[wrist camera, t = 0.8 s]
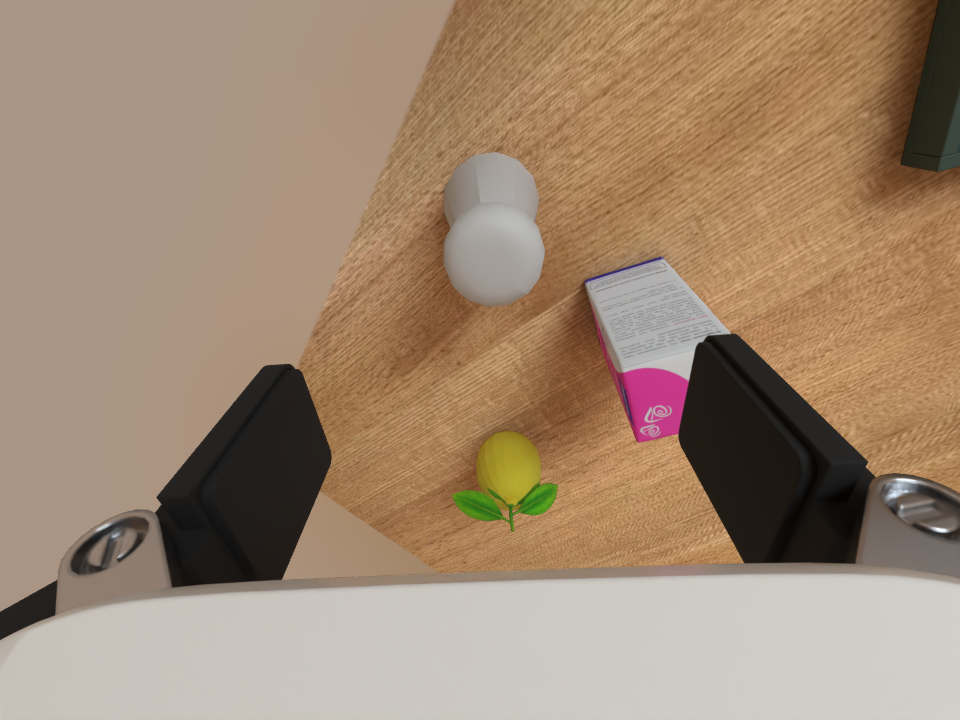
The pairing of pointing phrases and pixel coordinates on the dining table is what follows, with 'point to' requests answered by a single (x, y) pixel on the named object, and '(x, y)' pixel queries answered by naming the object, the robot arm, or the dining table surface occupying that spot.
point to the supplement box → (650, 340)
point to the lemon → (507, 480)
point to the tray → (938, 98)
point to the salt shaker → (492, 230)
